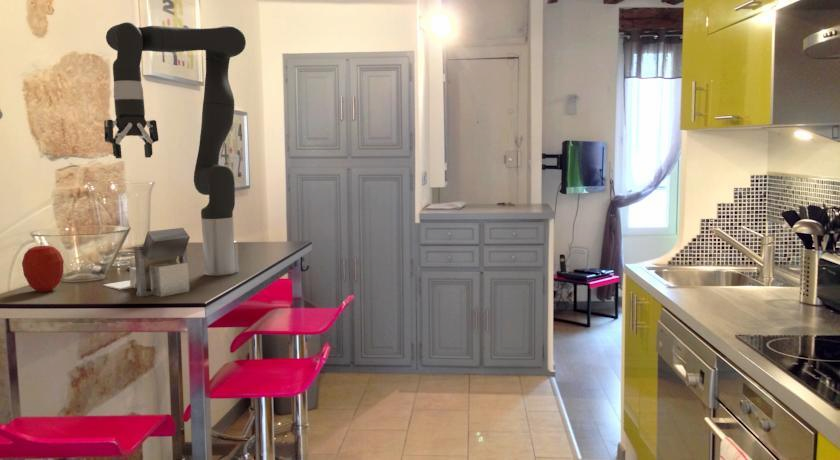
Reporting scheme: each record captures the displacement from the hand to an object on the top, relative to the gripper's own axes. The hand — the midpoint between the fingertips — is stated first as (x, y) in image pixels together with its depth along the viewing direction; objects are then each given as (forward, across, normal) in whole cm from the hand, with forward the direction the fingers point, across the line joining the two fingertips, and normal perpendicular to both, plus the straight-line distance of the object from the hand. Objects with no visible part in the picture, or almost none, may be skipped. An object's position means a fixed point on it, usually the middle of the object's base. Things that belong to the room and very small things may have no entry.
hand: (133, 157), depth 194 cm
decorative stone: (+36, +14, +30) cm, 49 cm away
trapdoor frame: (+36, -1, -16) cm, 39 cm away
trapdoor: (+29, -1, -14) cm, 32 cm away
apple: (+36, -20, +17) cm, 44 cm away
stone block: (+33, -1, -6) cm, 34 cm away
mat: (+36, -1, +4) cm, 36 cm away
